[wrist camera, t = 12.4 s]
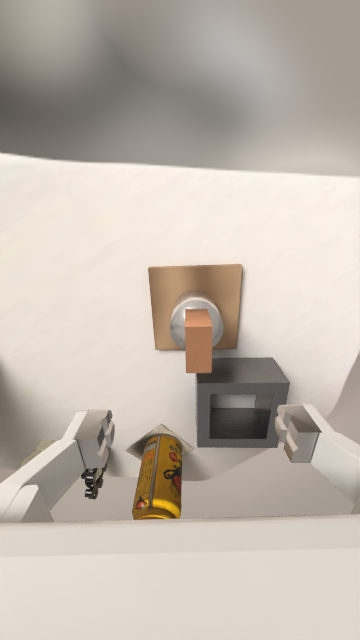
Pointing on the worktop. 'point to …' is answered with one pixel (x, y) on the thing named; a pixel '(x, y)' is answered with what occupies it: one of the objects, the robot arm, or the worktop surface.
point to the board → (206, 278)
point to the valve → (88, 474)
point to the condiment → (159, 475)
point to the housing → (240, 422)
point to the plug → (196, 329)
